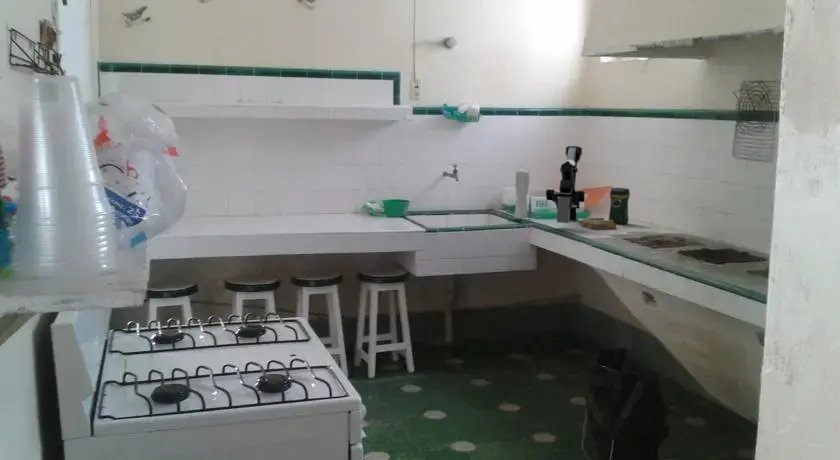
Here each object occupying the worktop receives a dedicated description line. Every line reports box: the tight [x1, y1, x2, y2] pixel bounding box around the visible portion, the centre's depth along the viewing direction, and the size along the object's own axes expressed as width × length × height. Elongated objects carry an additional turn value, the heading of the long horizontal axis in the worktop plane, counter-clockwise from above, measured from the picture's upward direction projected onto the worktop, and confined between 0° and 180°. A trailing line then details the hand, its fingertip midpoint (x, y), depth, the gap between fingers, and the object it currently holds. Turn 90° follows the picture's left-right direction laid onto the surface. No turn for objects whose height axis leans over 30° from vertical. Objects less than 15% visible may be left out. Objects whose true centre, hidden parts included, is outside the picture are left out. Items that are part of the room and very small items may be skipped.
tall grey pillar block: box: [556, 197, 571, 224], centre depth 375 cm, size 5×6×12 cm
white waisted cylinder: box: [513, 166, 532, 220], centre depth 403 cm, size 8×8×28 cm
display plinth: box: [579, 217, 617, 231], centre depth 381 cm, size 14×12×4 cm
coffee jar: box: [608, 187, 631, 225], centre depth 396 cm, size 10×8×19 cm
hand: (563, 208), depth 373 cm, fingers closed on tall grey pillar block, 5 cm apart
